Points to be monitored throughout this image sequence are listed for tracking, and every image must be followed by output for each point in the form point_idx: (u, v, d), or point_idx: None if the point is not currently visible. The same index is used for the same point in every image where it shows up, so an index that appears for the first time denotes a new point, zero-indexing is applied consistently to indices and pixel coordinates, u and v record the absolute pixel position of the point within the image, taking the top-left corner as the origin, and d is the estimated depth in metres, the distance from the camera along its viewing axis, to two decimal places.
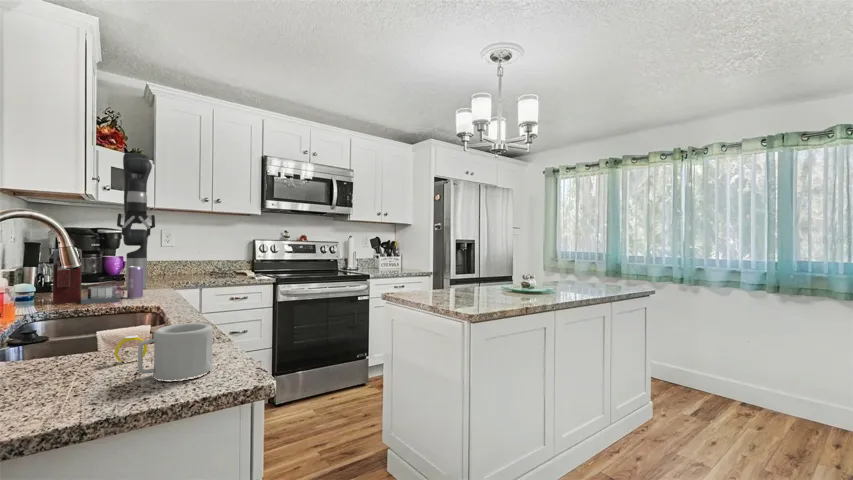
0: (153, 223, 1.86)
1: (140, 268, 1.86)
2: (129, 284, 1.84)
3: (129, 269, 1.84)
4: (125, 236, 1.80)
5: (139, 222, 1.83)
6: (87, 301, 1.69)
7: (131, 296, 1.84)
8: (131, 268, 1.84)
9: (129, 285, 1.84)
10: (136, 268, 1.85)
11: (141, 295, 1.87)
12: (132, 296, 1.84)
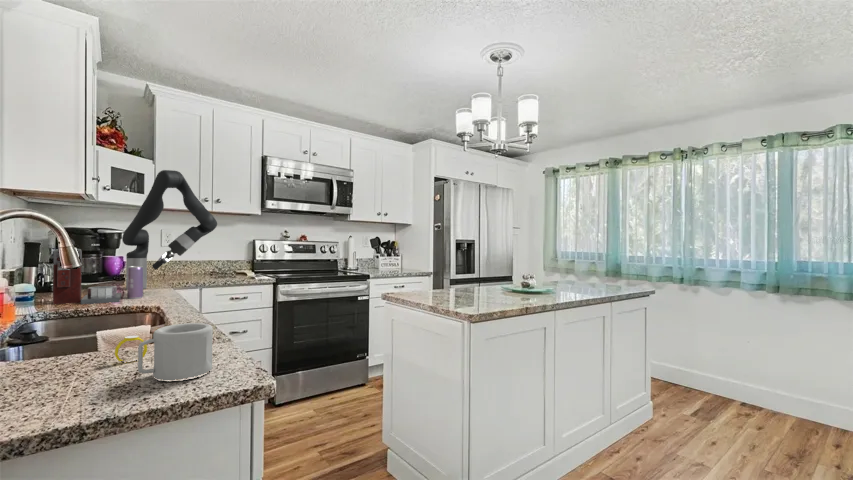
0: None
1: (140, 268, 1.86)
2: (129, 284, 1.84)
3: (129, 269, 1.84)
4: (155, 269, 1.88)
5: None
6: (87, 301, 1.69)
7: (131, 296, 1.84)
8: (131, 268, 1.84)
9: (129, 285, 1.84)
10: (136, 268, 1.85)
11: (141, 295, 1.87)
12: (132, 296, 1.84)
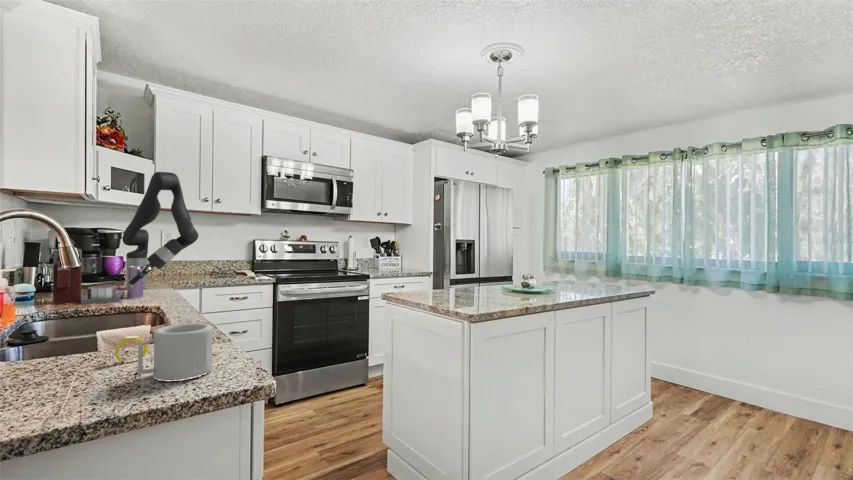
0: None
1: (140, 268, 1.86)
2: (129, 284, 1.84)
3: (129, 269, 1.84)
4: (131, 284, 1.84)
5: None
6: (87, 301, 1.69)
7: (131, 296, 1.84)
8: (131, 268, 1.84)
9: (129, 285, 1.84)
10: (136, 268, 1.85)
11: (141, 295, 1.87)
12: (132, 296, 1.84)
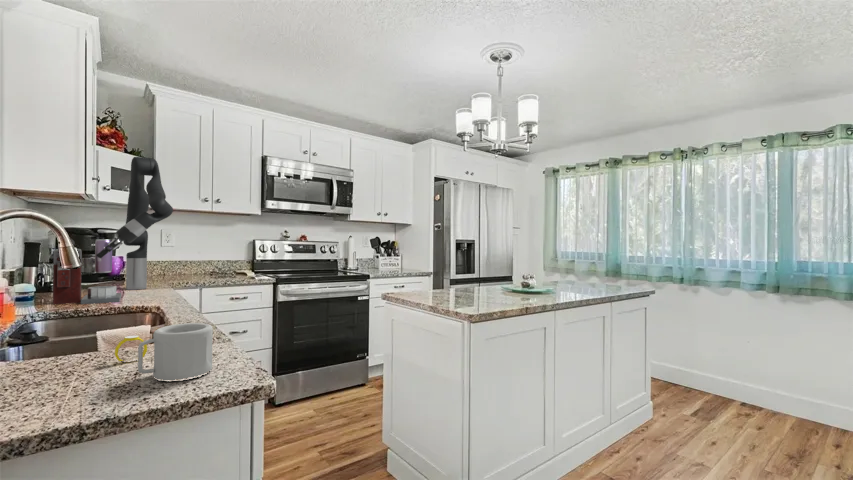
0: None
1: (109, 241, 1.79)
2: (97, 257, 1.77)
3: (97, 242, 1.77)
4: (99, 257, 1.76)
5: None
6: (87, 301, 1.69)
7: (99, 270, 1.76)
8: (99, 241, 1.77)
9: (97, 258, 1.76)
10: (104, 241, 1.77)
11: (110, 269, 1.80)
12: (100, 270, 1.77)
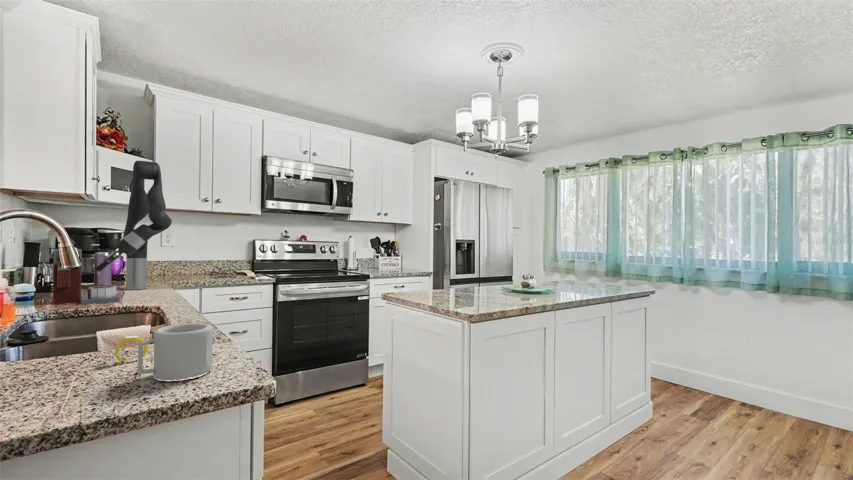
0: None
1: (108, 254, 1.79)
2: (96, 271, 1.76)
3: (96, 255, 1.76)
4: None
5: None
6: (87, 301, 1.69)
7: (98, 283, 1.76)
8: (98, 254, 1.76)
9: (96, 272, 1.76)
10: (103, 254, 1.77)
11: (109, 282, 1.79)
12: (99, 283, 1.76)
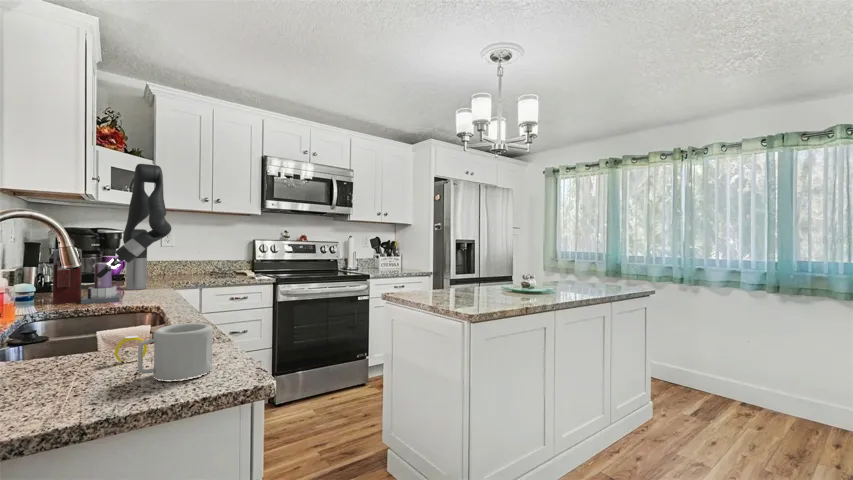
0: None
1: None
2: (96, 281, 1.77)
3: (96, 265, 1.77)
4: (99, 277, 1.75)
5: None
6: (87, 301, 1.69)
7: None
8: (98, 264, 1.77)
9: (96, 282, 1.77)
10: (104, 264, 1.78)
11: None
12: None
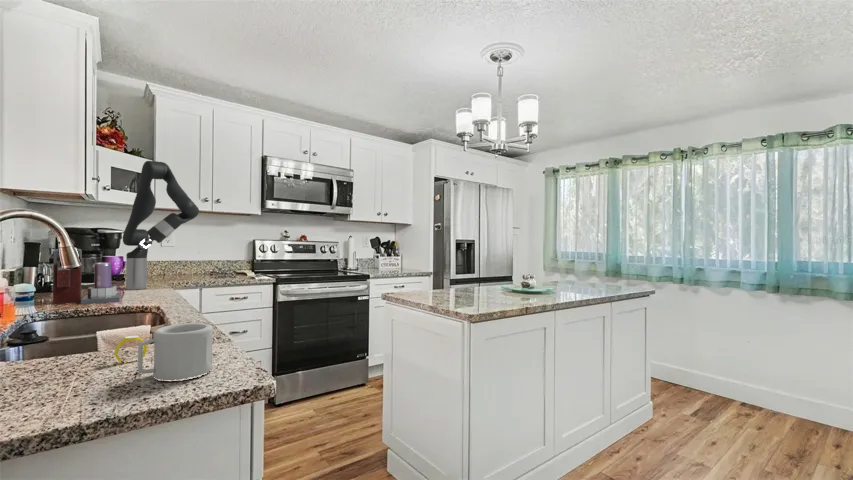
0: None
1: (108, 264, 1.79)
2: (96, 281, 1.76)
3: (96, 266, 1.76)
4: (132, 256, 1.82)
5: None
6: (87, 301, 1.69)
7: None
8: (98, 265, 1.76)
9: (96, 282, 1.76)
10: (103, 265, 1.77)
11: None
12: None
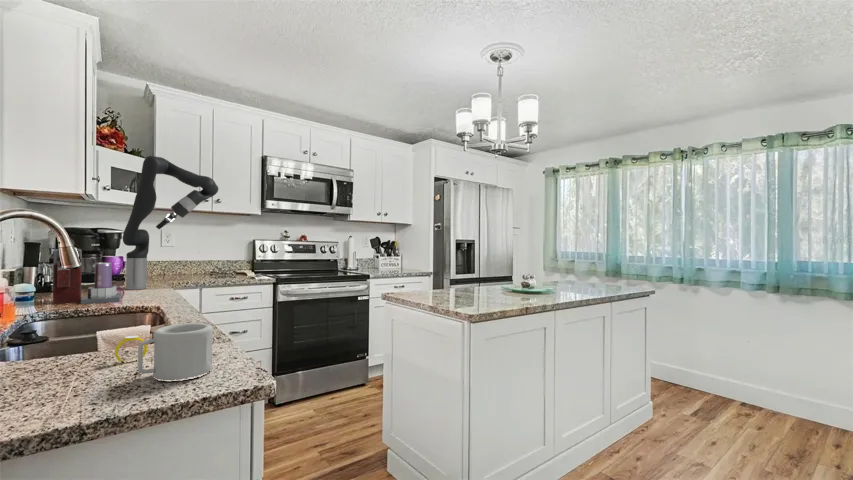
0: None
1: (108, 264, 1.79)
2: (96, 281, 1.77)
3: (97, 265, 1.77)
4: (158, 228, 1.97)
5: None
6: (87, 301, 1.69)
7: None
8: (99, 264, 1.77)
9: (96, 282, 1.77)
10: (104, 264, 1.78)
11: None
12: None
